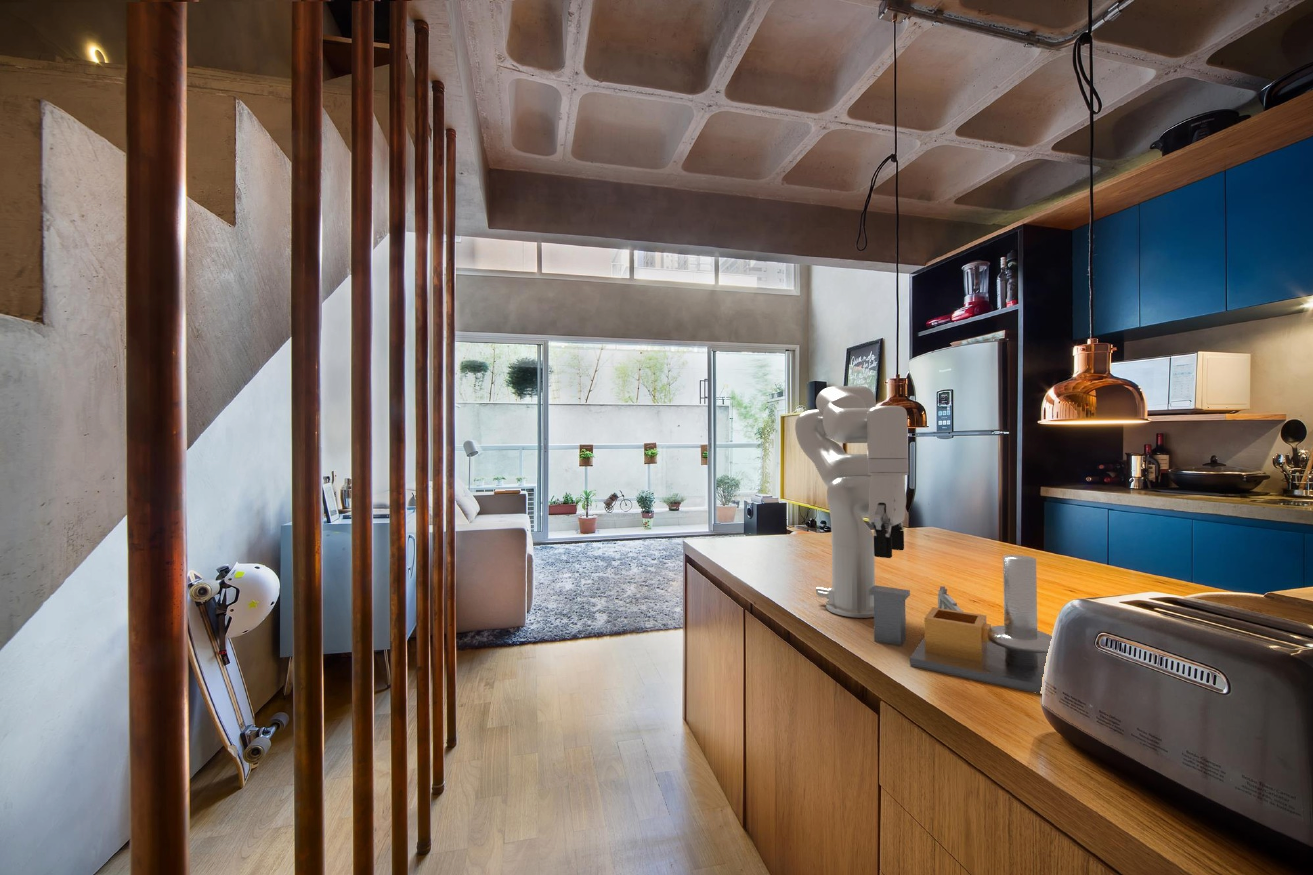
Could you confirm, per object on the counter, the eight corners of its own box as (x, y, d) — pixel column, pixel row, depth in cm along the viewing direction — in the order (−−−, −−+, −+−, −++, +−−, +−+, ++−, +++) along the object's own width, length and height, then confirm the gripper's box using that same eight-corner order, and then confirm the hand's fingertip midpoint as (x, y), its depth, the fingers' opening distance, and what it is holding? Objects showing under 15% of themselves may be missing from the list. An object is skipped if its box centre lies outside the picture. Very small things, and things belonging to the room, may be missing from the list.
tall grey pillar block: (869, 640, 110) (868, 589, 110) (875, 634, 113) (874, 585, 113) (906, 647, 106) (905, 594, 106) (910, 641, 109) (909, 590, 109)
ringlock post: (910, 666, 97) (908, 556, 97) (929, 636, 112) (928, 540, 112) (1056, 697, 85) (1054, 571, 85) (1057, 660, 99) (1055, 552, 99)
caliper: (937, 611, 129) (937, 584, 129) (942, 611, 129) (941, 584, 129) (983, 643, 109) (983, 611, 109) (989, 643, 109) (988, 611, 109)
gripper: (879, 466, 119) (881, 545, 119) (855, 468, 105) (857, 558, 105) (917, 466, 115) (919, 548, 114) (897, 469, 101) (899, 562, 100)
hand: (889, 553), depth 109 cm, fingers open, 9 cm apart
